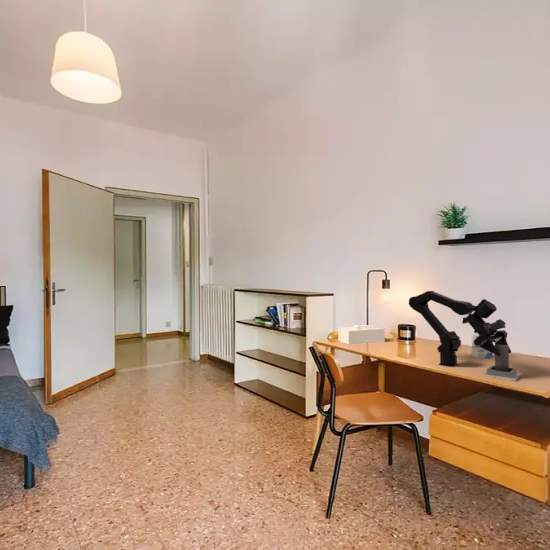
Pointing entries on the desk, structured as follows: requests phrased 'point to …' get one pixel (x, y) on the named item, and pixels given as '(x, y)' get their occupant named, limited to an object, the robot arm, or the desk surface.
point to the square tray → (502, 373)
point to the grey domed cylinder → (502, 358)
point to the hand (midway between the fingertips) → (505, 354)
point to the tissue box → (361, 334)
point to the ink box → (479, 349)
